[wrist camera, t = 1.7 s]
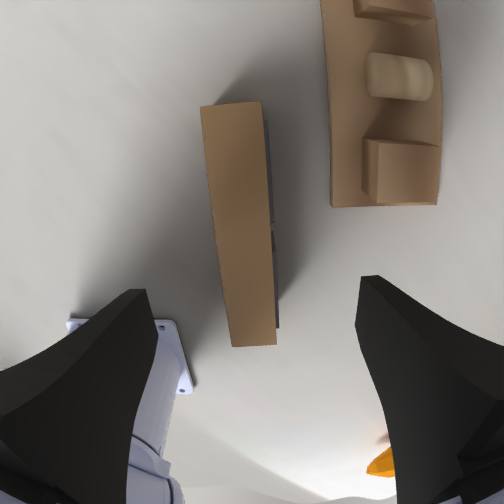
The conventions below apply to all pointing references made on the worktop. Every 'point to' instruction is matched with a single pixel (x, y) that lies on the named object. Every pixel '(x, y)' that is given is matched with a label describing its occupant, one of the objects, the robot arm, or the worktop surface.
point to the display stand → (383, 102)
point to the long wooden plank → (243, 218)
